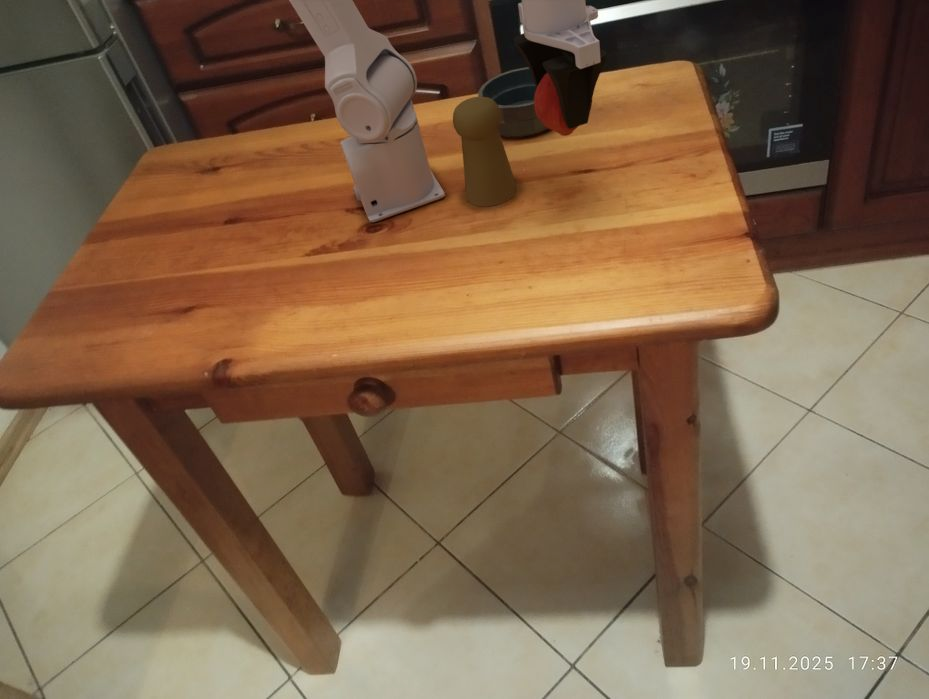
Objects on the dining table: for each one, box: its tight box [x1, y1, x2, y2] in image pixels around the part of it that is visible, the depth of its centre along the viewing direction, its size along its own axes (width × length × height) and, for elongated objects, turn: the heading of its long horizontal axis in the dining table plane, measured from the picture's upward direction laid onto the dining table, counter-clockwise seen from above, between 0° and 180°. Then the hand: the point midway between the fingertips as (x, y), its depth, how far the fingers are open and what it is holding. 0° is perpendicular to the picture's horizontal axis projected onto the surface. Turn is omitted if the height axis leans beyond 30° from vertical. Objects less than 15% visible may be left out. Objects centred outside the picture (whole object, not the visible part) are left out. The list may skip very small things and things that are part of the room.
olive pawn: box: [452, 96, 518, 208], centre depth 75 cm, size 6×6×11 cm
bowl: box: [477, 66, 550, 138], centre depth 88 cm, size 11×11×4 cm
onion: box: [534, 73, 593, 137], centre depth 68 cm, size 6×6×8 cm
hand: (564, 112), depth 69 cm, fingers closed on onion, 6 cm apart
